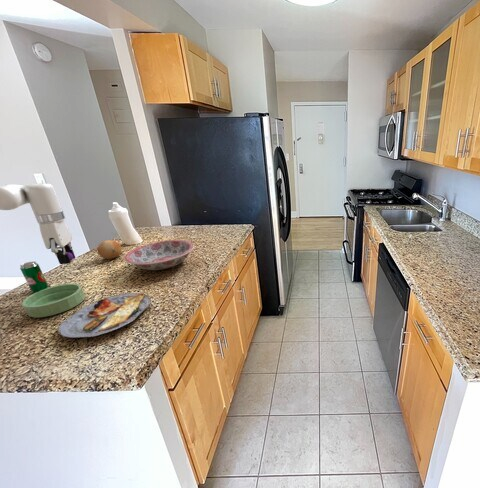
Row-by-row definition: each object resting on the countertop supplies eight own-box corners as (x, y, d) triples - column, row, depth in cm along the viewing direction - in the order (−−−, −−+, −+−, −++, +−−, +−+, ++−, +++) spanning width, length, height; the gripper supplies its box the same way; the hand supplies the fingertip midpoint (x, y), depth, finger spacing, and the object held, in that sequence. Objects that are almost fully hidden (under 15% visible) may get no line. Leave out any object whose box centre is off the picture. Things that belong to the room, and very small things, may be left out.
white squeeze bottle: (132, 246, 151) (119, 204, 142) (114, 246, 151) (100, 204, 142) (145, 239, 162) (134, 200, 153) (129, 239, 162) (116, 200, 153)
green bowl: (18, 323, 88) (11, 311, 86) (41, 299, 101) (36, 288, 99) (76, 311, 94) (71, 300, 92) (91, 290, 107) (87, 280, 105)
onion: (109, 263, 131) (103, 245, 127) (96, 260, 134) (89, 242, 130) (128, 255, 139) (123, 238, 136) (115, 253, 142) (109, 236, 139)
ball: (59, 264, 102) (55, 255, 100) (63, 260, 105) (60, 251, 104) (72, 262, 103) (69, 253, 102) (76, 258, 107) (73, 249, 105)
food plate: (101, 298, 102) (98, 291, 100) (162, 296, 103) (160, 288, 102) (41, 345, 79) (36, 336, 77) (121, 341, 80) (118, 332, 79)
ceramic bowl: (176, 249, 147) (173, 236, 144) (209, 260, 133) (206, 246, 130) (117, 270, 124) (112, 254, 121) (149, 286, 110) (144, 269, 107)
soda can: (28, 292, 107) (15, 265, 102) (43, 285, 111) (31, 260, 107) (37, 293, 105) (24, 267, 101) (52, 287, 110) (40, 261, 105)
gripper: (48, 213, 103) (64, 255, 110) (24, 224, 89) (45, 271, 96) (72, 211, 106) (87, 252, 113) (53, 222, 92) (71, 268, 99)
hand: (67, 260), depth 104 cm, fingers closed on ball, 3 cm apart
